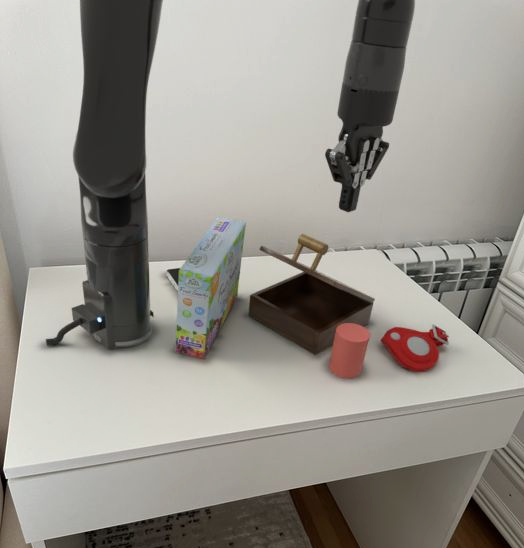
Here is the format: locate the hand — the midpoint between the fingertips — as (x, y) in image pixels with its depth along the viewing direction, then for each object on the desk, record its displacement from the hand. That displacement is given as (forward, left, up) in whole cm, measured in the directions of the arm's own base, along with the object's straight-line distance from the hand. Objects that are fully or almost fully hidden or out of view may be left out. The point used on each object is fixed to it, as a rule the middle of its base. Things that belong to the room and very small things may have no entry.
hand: (346, 209), depth 80 cm
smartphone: (-7, +25, -23) cm, 34 cm away
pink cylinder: (-5, -8, -22) cm, 25 cm away
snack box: (-13, +15, -22) cm, 30 cm away
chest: (+2, +5, -23) cm, 23 cm away
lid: (+2, +5, -14) cm, 15 cm away
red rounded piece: (+8, -14, -23) cm, 28 cm away
